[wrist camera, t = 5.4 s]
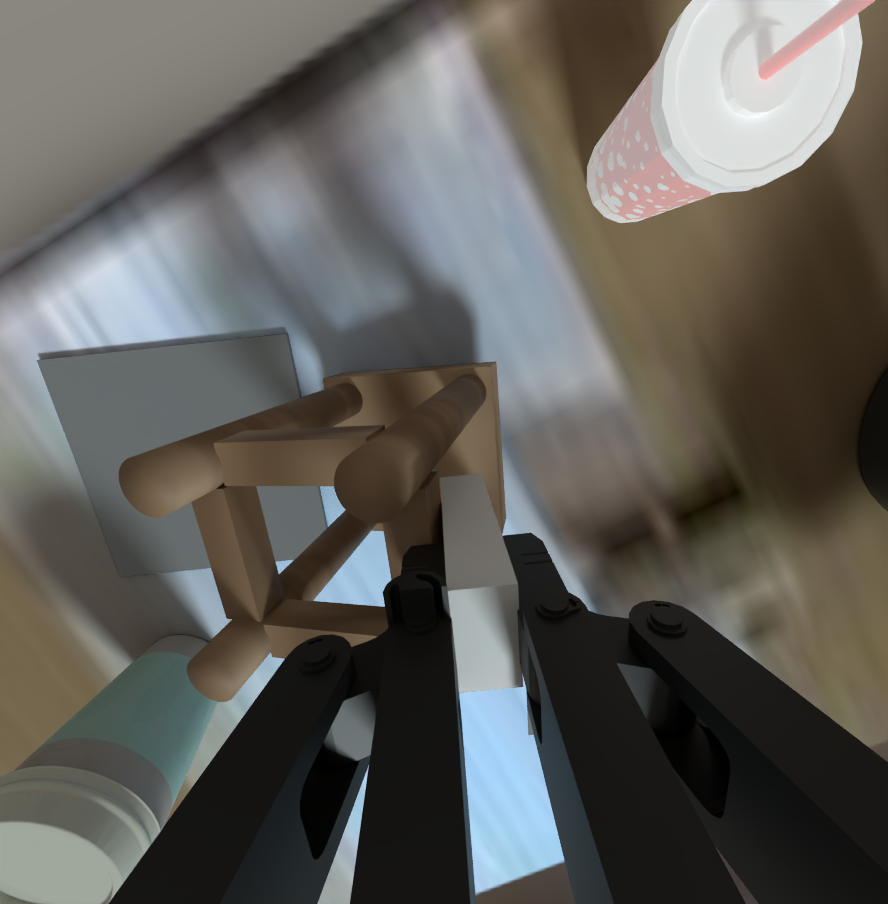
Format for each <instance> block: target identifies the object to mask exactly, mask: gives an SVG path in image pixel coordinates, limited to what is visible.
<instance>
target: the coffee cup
mask: <svg viewBox="0 0 888 904" xmlns="http://www.w3.org/2000/svg"><path fill="white" fill-rule="evenodd" d="M207 644H208V642H206V641H204V640H202V639H200V638H197V637H193V636H188V635H172V636H168V637H164V638H162V639H160V640H158V641H157V642H155V643H154V644H153V645H152V646H151V647H149V648H148V649H147V650H146V651H145V652H144V653H143V654H142V655H141V656H139V657H138V658H137V659H136V660H135V661H134V662H133V663H132V664H131V665H129V666H128V667H127V668H126V669H125V670H124V671H123V672H122V673H121V674H120V675H118V676H117V677H116V678H115V679H114V680H113V681H112V682H111V683H110V684H109V685H107V686H106V687H105V688H104V689H103V690H102V691H101V692H100V693H99V694H98V695H96V696H95V697H94V698H93V699H92V700H91V701H90V702H89V703H88V704H87V705H85V706H84V707H83V708H82V709H81V710H80V711H79V712H78V713H77V714H76V715H75V716H73V717H72V718H71V719H70V720H69V721H68V722H67V723H66V724H65V725H64V726H62V727H61V728H60V729H59V730H58V731H57V732H56V733H55V734H54V735H53V736H51V737H50V738H49V739H48V740H47V741H46V742H45V743H44V744H43V745H42V746H40V747H39V748H38V749H37V750H36V751H35V752H34V753H33V754H32V755H31V756H30V757H29V758H27V759H26V760H25V761H24V762H23V763H22V764H21V765H20V766H19V767H18V768H17V769H15V770H14V771H13V772H10V773H8V774H6V775H4V776H2V777H0V904H108V903H109V902H110V901H111V899H112V898H113V897H114V895H115V894H116V892H117V891H118V890H119V888H120V887H121V885H122V884H123V883H124V881H125V880H126V879H127V877H128V876H129V874H130V873H131V872H132V870H133V869H134V867H135V866H136V865H137V863H138V862H139V861H140V859H141V858H142V856H143V855H144V854H145V852H146V851H147V849H148V848H149V847H150V845H151V844H152V843H153V841H154V840H155V838H156V837H157V836H158V834H159V833H160V831H161V830H162V829H163V827H164V825H165V823H166V821H167V818H168V816H169V814H170V811H171V809H172V807H173V805H174V802H175V800H176V798H177V795H178V793H179V791H180V788H181V786H182V784H183V781H184V779H185V777H186V774H187V772H188V770H189V767H190V765H191V763H192V760H193V758H194V756H195V753H196V751H197V749H198V747H199V744H200V742H201V740H202V737H203V735H204V733H205V730H206V728H207V726H208V723H209V721H210V719H211V716H212V714H213V712H214V709H215V707H216V705H217V702H218V701H214V700H211V699H209V698H207V697H205V696H204V695H202V694H201V693H200V692H199V691H198V690H197V689H196V688H195V687H194V686H193V685H192V683H191V682H190V680H189V677H188V675H187V665H188V662H189V661H190V660H191V659H192V658H193V657H194V656H195V655H196V654H197V653H198V652H199V651H200V650H201V649H202V648H203V647H204V646H206V645H207Z"/></svg>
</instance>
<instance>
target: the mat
mask: <svg viewBox="0 0 888 904" xmlns="http://www.w3.org/2000/svg"><path fill="white" fill-rule="evenodd" d="M37 362H38V365H39V367H40V370H41V373H42V375H43V378H44V380H45V383H46V386H47V388H48V391H49V393H50V396H51V399H52V401H53V404H54V406H55V409H56V412H57V414H58V417H59V419H60V422H61V425H62V427H63V430H64V432H65V435H66V438H67V440H68V443H69V445H70V448H71V451H72V453H73V456H74V458H75V461H76V464H77V466H78V469H79V472H80V474H81V477H82V479H83V482H84V485H85V487H86V490H87V492H88V495H89V498H90V500H91V503H92V505H93V508H94V511H95V513H96V516H97V518H98V521H99V524H100V526H101V529H102V531H103V534H104V537H105V539H106V542H107V544H108V547H109V550H110V552H111V555H112V557H113V560H114V563H115V565H116V568H117V571H118V573H119V576H120V577H126V576H136V575H145V574H155V573H165V572H175V571H185V570H195V569H205V568H211V565H210V562H209V559H208V556H207V552H206V549H205V546H204V542H203V539H202V536H201V533H200V529H199V526H198V523H197V520H196V516H195V513H194V510H193V507H192V503H191V502H190V503H189V504H187V505H185V506H183V507H181V508H179V509H177V510H175V511H173V512H172V513H170V514H168V515H166V516H164V517H160V518H153V517H149V516H146V515H144V514H142V513H140V512H139V511H138V510H136V509H135V508H134V507H133V506H132V505H131V504H130V503H129V502H128V500H127V499H126V497H125V496H124V494H123V492H122V490H121V487H120V484H119V469H120V466H121V464H122V463H123V462H124V461H125V460H126V459H128V458H130V457H133V456H135V455H138V454H141V453H144V452H147V451H150V450H153V449H155V448H158V447H161V446H164V445H167V444H170V443H173V442H176V441H178V440H181V439H184V438H187V437H190V436H193V435H196V434H198V433H201V432H204V431H207V430H210V429H213V428H216V427H219V426H221V425H224V424H227V423H230V422H233V421H236V420H239V419H241V418H244V417H247V416H250V415H253V414H256V413H259V412H261V411H264V410H267V409H270V408H273V407H276V406H279V405H282V404H284V403H287V402H290V401H293V400H296V399H299V398H301V394H300V389H299V384H298V379H297V375H296V370H295V365H294V360H293V355H292V350H291V345H290V340H289V335H288V334H278V335H269V336H259V337H250V338H240V339H231V340H222V341H212V342H203V343H193V344H184V345H175V346H165V347H156V348H147V349H137V350H128V351H118V352H109V353H100V354H90V355H81V356H71V357H62V358H53V359H43V360H37ZM256 487H257V491H258V495H259V499H260V503H261V507H262V511H263V515H264V519H265V523H266V527H267V531H268V535H269V539H270V543H271V547H272V551H273V555H274V558H275V561H285V560H295V559H296V558H297V557H298V556H299V555H300V554H301V553H302V552H303V551H304V550H305V549H306V548H307V547H308V546H309V545H310V544H311V543H312V542H313V541H314V540H316V539H317V538H318V537H319V536H320V535H321V534H322V533H323V532H324V531H325V530H326V529H327V528H328V526H327V521H326V516H325V511H324V507H323V502H322V497H321V492H320V487H319V486H256Z"/></svg>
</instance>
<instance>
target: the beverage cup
mask: <svg viewBox="0 0 888 904" xmlns="http://www.w3.org/2000/svg"><path fill="white" fill-rule="evenodd" d="M874 1H875V0H692V1H691V2H690V4H689V5H688V6H687V7H686V9H685V10H684V11H683V12H682V13H681V15H680V16H679V17H678V20H677V21H676V23H675V24H674V25H673V26H672V28H671V29H670V31H669V33H668V36H667V38H666V41H665V43H664V46H663V49H662V51H661V54H660V56H659V58H658V60H657V61H656V63H655V64H654V65H653V67H652V68H651V70H650V71H649V72H648V74H647V75H646V76H645V78H644V79H643V81H642V82H641V83H640V85H639V86H638V88H637V89H636V90H635V92H634V93H633V94H632V96H631V97H630V99H629V100H628V101H627V103H626V104H625V106H624V107H623V108H622V110H621V111H620V112H619V114H618V115H617V117H616V118H615V119H614V121H613V122H612V123H611V125H610V126H609V128H608V129H607V130H606V132H605V133H604V135H603V136H602V137H601V139H600V140H599V141H598V143H597V144H596V146H595V147H594V150H593V152H592V155H591V158H590V160H589V163H588V166H587V189H588V192H589V194H590V197H591V200H592V203H593V205H594V206H595V207H596V208H597V209H598V210H599V211H600V213H601V214H602V215H603V216H604V217H606V218H609V219H611V220H614V221H616V222H619V223H626V222H637V221H640V220H643V219H646V218H649V217H652V216H654V215H657V214H660V213H663V212H666V211H669V210H672V209H674V208H677V207H680V206H683V205H686V204H689V203H691V202H694V201H697V200H700V199H703V198H706V197H709V196H711V195H714V194H717V193H723V192H737V191H748V190H750V189H752V188H754V187H760V186H762V185H765V184H767V183H769V182H771V181H772V180H774V179H776V178H778V177H780V176H782V175H784V174H786V173H788V172H790V171H792V170H794V169H796V168H798V167H800V166H801V165H802V164H803V163H804V162H805V161H806V160H807V159H808V158H809V157H810V156H811V155H812V154H813V153H814V152H815V151H816V150H817V149H818V148H819V146H820V145H821V144H822V143H823V142H824V141H825V140H826V139H827V138H828V137H829V136H830V135H831V134H832V132H833V131H834V129H835V127H836V125H837V123H838V121H839V119H840V117H841V115H842V113H843V111H844V109H845V107H846V105H847V103H848V101H849V99H850V97H851V95H852V93H853V91H854V87H855V82H856V76H857V71H858V65H859V60H860V54H861V49H862V36H861V30H860V23H859V17H858V13H859V12H860V11H862V10H863V9H864V8H866V7H867V6H869V5H870V4H871V3H873V2H874Z"/></svg>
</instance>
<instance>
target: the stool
mask: <svg viewBox="0 0 888 904" xmlns="http://www.w3.org/2000/svg"><path fill="white" fill-rule="evenodd" d="M323 382H324V387H325V390H322V391H319V392H316V393H313V394H310V395H307V396H304V397H302V398H299V399H296V400H293V401H290V402H287V403H284V404H282V405H279V406H276V407H273V408H270V409H267V410H264V411H261V412H259V413H256V414H253V415H250V416H247V417H244V418H241V419H239V420H236V421H233V422H230V423H227V424H224V425H221V426H219V427H216V428H213V429H210V430H207V431H204V432H201V433H198V434H196V435H193V436H190V437H187V438H184V439H181V440H178V441H176V442H173V443H170V444H167V445H164V446H161V447H158V448H155V449H153V450H150V451H147V452H144V453H141V454H138V455H135V456H133V457H130V458H128V459H126V460H125V461H124V462H123V463H122V464H121V466H120V469H119V484H120V487H121V490H122V492H123V494H124V496H125V497H126V499H127V500H128V502H129V503H130V504H131V505H132V506H133V507H134V508H135V509H136V510H138V511H139V512H140V513H142V514H144V515H146V516H149V517H153V518H160V517H164V516H166V515H168V514H170V513H172V512H173V511H175V510H177V509H179V508H181V507H183V506H185V505H187V504H189V503H190V502H191V503H192V507H193V510H194V513H195V516H196V520H197V523H198V526H199V529H200V533H201V536H202V539H203V542H204V546H205V549H206V552H207V556H208V559H209V562H210V565H211V569H212V572H213V575H214V578H215V582H216V585H217V588H218V591H219V595H220V598H221V601H222V605H223V608H224V611H225V614H226V618H227V619H232V620H231V621H230V622H229V623H228V624H227V625H226V626H225V627H224V628H223V629H222V630H221V631H220V632H219V633H218V634H217V635H216V636H215V637H214V638H213V639H212V640H211V641H210V642H209V643H208V644H207V645H206V646H204V647H203V648H202V649H201V650H200V651H199V652H198V653H197V654H196V655H195V656H194V657H193V658H192V659H191V660H190V661H189V662H188V665H187V675H188V677H189V680H190V682H191V683H192V685H193V686H194V687H195V688H196V689H197V690H198V691H199V692H200V693H201V694H202V695H204V696H205V697H207V698H209V699H211V700H214V701H218V702H226V701H229V700H231V699H232V698H233V697H234V696H235V694H236V693H237V692H238V691H239V689H240V688H241V687H242V686H243V685H244V683H245V682H246V681H247V680H248V679H249V677H250V676H251V675H252V674H253V673H254V671H255V670H256V669H257V668H258V667H259V665H260V664H261V663H262V662H263V661H264V659H265V658H266V657H267V656H268V654H269V653H270V652H271V654H272V657H276V658H284V659H285V658H286V657H287V656H288V655H289V654H290V653H291V652H292V650H293V649H294V648H295V647H296V646H298V645H300V644H301V643H303V642H305V641H306V640H308V639H311V638H314V637H317V636H320V635H330V634H334V635H338V636H342V637H344V638H345V639H346V640H347V641H348V642H349V643H350V645H351V647H352V646H355V645H358V644H361V643H364V642H367V641H369V640H371V639H374V638H376V637H377V636H379V635H380V634H382V633H383V632H385V631H386V630H387V629H388V621H387V615H386V609H385V607H379V606H367V605H354V604H342V603H330V602H318V601H313V600H314V599H315V598H316V597H317V595H318V594H319V593H320V592H321V590H322V589H323V588H324V587H325V586H326V584H327V583H328V582H329V581H330V580H331V578H332V577H333V576H334V575H335V574H336V572H337V571H338V570H339V569H340V568H341V566H342V565H343V564H344V563H345V562H346V560H347V559H348V558H349V557H350V555H351V554H352V553H353V552H354V551H355V549H356V548H357V547H358V546H359V545H360V543H361V542H362V541H363V540H364V539H365V537H366V536H367V535H368V534H369V533H370V531H384V535H385V542H386V548H387V554H388V560H389V566H390V573H391V579H394V578H395V577H397V576H400V575H401V570H402V560H403V556H404V554H405V553H406V552H407V551H408V549H409V548H410V547H411V546H417V545H427V544H437V543H444V535H443V517H442V499H441V482H440V477H450V476H460V475H470V474H480V473H482V476H483V479H484V482H485V485H486V488H487V491H488V494H489V497H490V500H491V503H492V506H493V509H494V512H495V515H496V518H497V521H498V525H499V528H500V531H501V534H502V533H503V528H504V524H505V520H506V510H505V494H504V478H503V462H502V446H501V430H500V415H499V399H498V383H497V367H496V362H484V363H471V364H458V365H446V366H433V367H420V368H407V369H394V370H381V371H368V372H355V373H342V374H338V375H334V376H331V377H328V378H324V379H323ZM256 486H334V488H335V492H336V495H337V497H338V499H339V501H340V503H341V504H342V506H343V507H344V508H345V509H346V511H345V512H344V513H342V514H341V515H340V516H339V517H338V518H337V519H336V520H335V521H334V522H333V523H332V524H331V525H330V526H329V527H328V528H327V529H326V530H325V531H324V532H323V533H322V534H321V535H320V536H319V537H318V538H317V539H316V540H314V541H313V542H312V543H311V544H310V545H309V546H308V547H307V548H306V549H305V550H304V551H303V552H302V553H301V554H300V555H299V556H298V557H297V558H296V559H295V560H294V561H293V562H292V563H291V564H290V565H289V566H287V567H286V568H285V569H284V570H283V571H282V572H281V573H280V574H278V570H277V566H276V562H275V558H274V555H273V551H272V547H271V543H270V539H269V535H268V531H267V527H266V523H265V519H264V515H263V511H262V507H261V503H260V499H259V495H258V491H257V487H256Z"/></svg>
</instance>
